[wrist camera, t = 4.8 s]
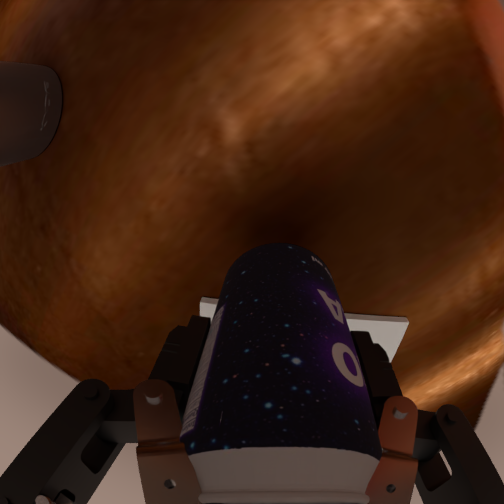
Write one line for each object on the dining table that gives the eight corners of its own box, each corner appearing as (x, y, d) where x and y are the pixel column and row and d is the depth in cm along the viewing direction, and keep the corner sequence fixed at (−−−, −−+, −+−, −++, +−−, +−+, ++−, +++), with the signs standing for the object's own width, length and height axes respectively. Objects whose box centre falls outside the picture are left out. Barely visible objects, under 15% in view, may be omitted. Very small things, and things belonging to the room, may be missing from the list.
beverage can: (287, 341, 17) (288, 538, 6) (207, 294, 16) (133, 505, 5) (351, 274, 15) (431, 493, 4) (265, 214, 14) (238, 474, 3)
